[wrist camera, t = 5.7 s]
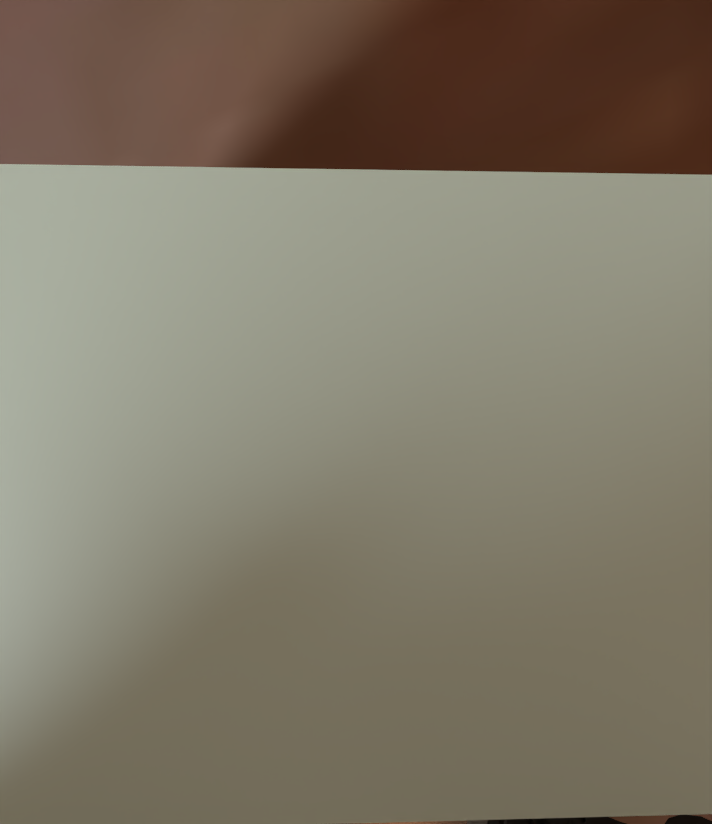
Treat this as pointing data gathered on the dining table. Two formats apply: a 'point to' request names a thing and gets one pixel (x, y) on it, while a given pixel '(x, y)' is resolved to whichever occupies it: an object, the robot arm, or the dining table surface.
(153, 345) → the socket block
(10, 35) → the dining table surface
